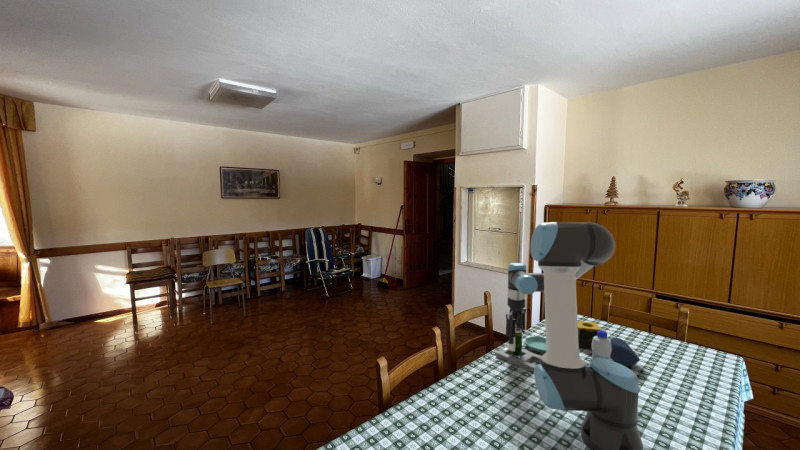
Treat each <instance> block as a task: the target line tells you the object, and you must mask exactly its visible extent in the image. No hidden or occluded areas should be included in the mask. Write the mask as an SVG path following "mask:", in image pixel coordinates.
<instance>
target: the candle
mask: <svg viewBox="0 0 800 450" xmlns="http://www.w3.org/2000/svg"><path fill="white" fill-rule="evenodd" d="M599 330H602V328H601V327H600V326H599V325H598V323H597V322H594V321H593V322H592V321H585V320H584V321H583V320H578V345H579V349H589V350H592V340H593V337H594V336H597V332H598V331H599Z"/></svg>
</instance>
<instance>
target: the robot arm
mask: <svg viewBox="0 0 800 450" xmlns="http://www.w3.org/2000/svg"><path fill="white" fill-rule="evenodd" d="M615 249H616V241H615V238H614V236H613V234H612V233H611V232H610V231H609V230H608V228H606V227H605V226H603V225H601V224H598V223H596V222H590V221H586V222H583V221H581V222H578V221H577V222H576V221H575V222H574V221H573V222H572V221H551V222H548V221H547V222H541V223H539V224H538V225H537V226H536V227H535V228H534V230H533V233H532V235H531V239H530V249H529V250H530V255H531V258H532V260H533V261H535V262H537V267H538V268H539V269H540V270H541V271H543V272H542V273H541V272H538V273H537V272H536V273H535V272H527V265H526V264H524V263H522V262H511V263H509V264H508V266H507V267H508V268H507V304H506V305H507V306H508V307H509V313H506V314H505V319H506V320H505V321H506V322H505V336H506V337H508V345H509V350H511V351H514V352H515V337H514V335H515V329H516V326H517V327H520V328H521V329H522V334H525V332H526V331H525V330H526V314H527V313H526V312H527V309H526V295H532V294H534V293H536V292H537V293H539V292H540V293H543V295H544V320H545V338H546V353H543V354H542V355H540V356H541V363H537V364H535V365H536V366H535V369H534V372H533V375H534V382H535V386H536V389H537V393H538V396H539V397H540V399H541V402H542V403H543V404H544V405H545V407H547V408H548V409H551V410H558V411H559V410H561V411H562V412H564V411H574V412H575V411H578V412H586V414H585V415H584V418H583V420H582V422H581V426H580V436H581V439H582V441H583V442H584V444H585V445H586V446H588V448H590V450H644V444H643V441H642V437H641V434H640V431H639V427H638V426H637V424H638V423H637V422H638V409H639V393H640V385H639V383H640V382H639V378H638V376H637V374H636V373H635V372H633V370H632V369H630V368H628V366H623V365H621V364H619V363H616V362H614V361H613V360H611V359H610V360H606V359H600V358H595V359H593V360H592V359H591V360H590V362H589V366H587V365H586V362H585V361H584V360H583V359H582V358H581V357H580V350H579V349H580V348H579V345H578V321H579V320H578V302H577V280H578V279H579V278H581V277H582V276H583V275H584V274H586V273H588V271H590V270H591V269H592V268H593V267H598V266H601V265H603V264H605V263H606V262H607V261H609V260H610V259H611V258H612V256H613V255H614V253H615Z"/></svg>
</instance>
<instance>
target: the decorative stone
mask: <svg viewBox="0 0 800 450" xmlns="http://www.w3.org/2000/svg"><path fill="white" fill-rule="evenodd" d="M609 339H610V340H611V347H612V350H611V354H610V360H611V361H613V362H616V363H619V364H621V365H623V366H625V367H632V366H634V365H636V364H638V363H639V362H640V360H641V359H640V358H639V356H638V354H637V353H636V352H635V350H633V349H632V347H631V346H630V345H629V343H627V342H626V341H625V340H623V339H622V338H620V337H612V338H609Z"/></svg>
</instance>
